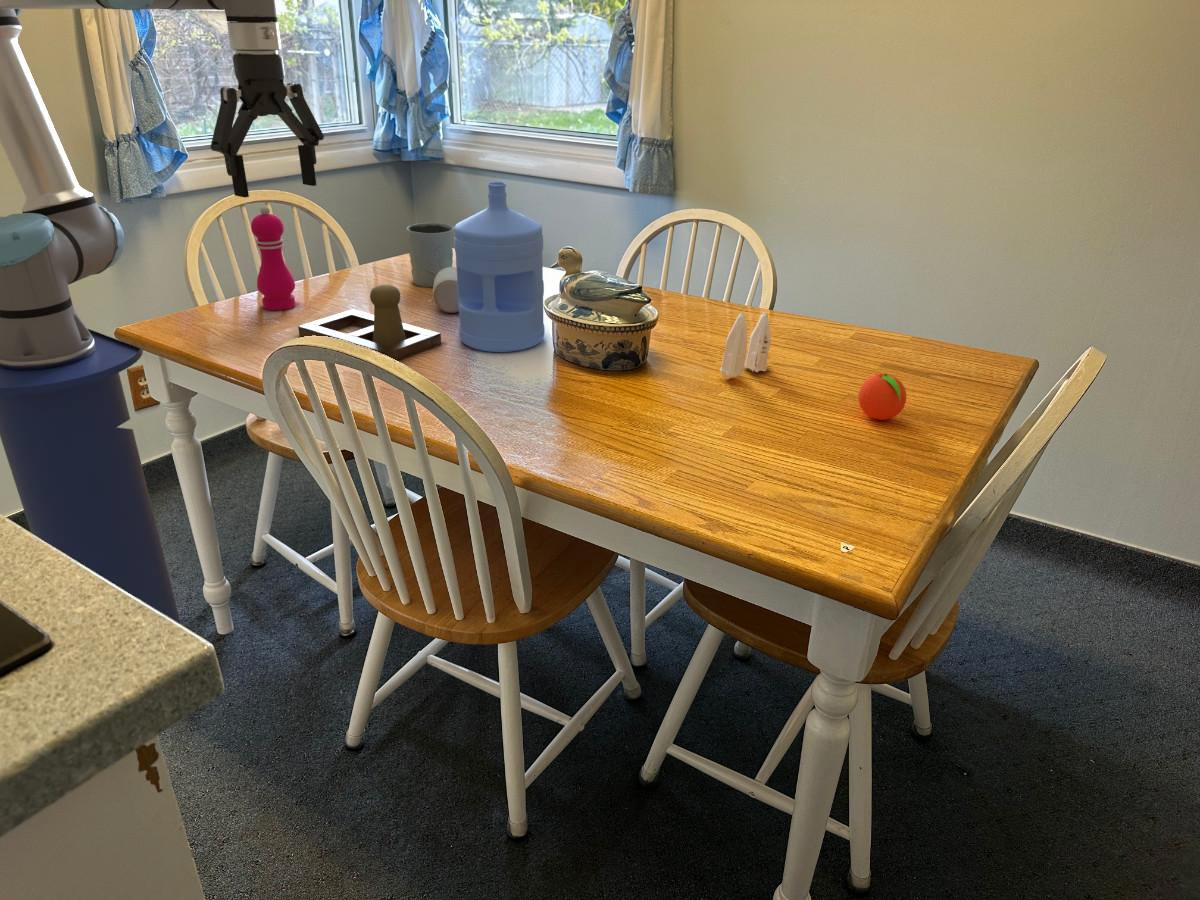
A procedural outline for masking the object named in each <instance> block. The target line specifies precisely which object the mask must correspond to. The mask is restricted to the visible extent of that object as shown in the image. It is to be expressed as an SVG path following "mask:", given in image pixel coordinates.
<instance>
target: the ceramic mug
mask: <svg viewBox="0 0 1200 900" xmlns="http://www.w3.org/2000/svg"><path fill="white" fill-rule="evenodd" d="M432 298H433V301H434V304H435V305H436V306H437V308H438V309H439V310H441V311H442V312H445V313H446V314H456V313H459V304H458V293H457V267H455V266H452V267H447V268H444V269H442V270H441V271H439V272H438V274H437V275H436V277H435V279H434V286H433V287H432Z"/></svg>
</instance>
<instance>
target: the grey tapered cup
mask: <svg viewBox="0 0 1200 900" xmlns="http://www.w3.org/2000/svg"><path fill="white" fill-rule="evenodd" d="M454 228H455V227H453V226H452V225H450V224H448V223H441V222H423V223H421V222H420V223H414V224H410V225H408V226H407V227H406V236H407V242H408V250H409V258H410V259H409V260H410V266H411V276H412V277H411V278H412V282H413V284H414V285H416V286H419V287H426V288H433V286H434V279H435V277H436V275H437V274H438V272H439V271H441V270H442V269H444V268H447V267H453V263H454V261H453V257H454V253H453V251H454V250H453V249H454V235H455V234H454Z"/></svg>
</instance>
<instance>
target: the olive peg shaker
mask: <svg viewBox="0 0 1200 900" xmlns="http://www.w3.org/2000/svg"><path fill="white" fill-rule="evenodd" d="M369 300H370V302H371V303H372V305H373V306H374V307H373V308H374V309H373V315H374V332H373V342H375V343H379V344H382V345H385V346H390V345H393V344H395V343H398V342H401V341H404V340H406V337H405V333H404V329H403V324H402V323H403V320H402V317H401V311H400V307H399V304H400V302H401V292H400V290H399V288H398V287H397V286H395V285H391V284H381V285H376V286H374V287H373V288H371V290H370V294H369Z"/></svg>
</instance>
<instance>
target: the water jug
mask: <svg viewBox="0 0 1200 900" xmlns="http://www.w3.org/2000/svg"><path fill="white" fill-rule="evenodd" d="M487 187H488V193H487V197H488V206H487V207H486V208H485V209H483V210H481V211H478V212H477V213H475V214H472V215H471V216H469V217H467V218H465V219H462V220H461V221H459V222H457V223H456V224H455V226H454V227H453V228H454V234H453V249H454V252H455V266H456V268H457V293H458V304H459V312H458V320H459V321H458V322H459V326H458V334H459V335H458V336H459V339H460V340H461V342H462V343H463V344H464V345H466V346H467V347H469V348H472V349H475V350H478V351H483V352H490V353H491V352H492V353H510V352H519V351H523V350H527V349H530V348H532V347H535V346H537V345H538V344H540V343H541V342H542V340H543V339H544V337H545V331H546V329H545V328H546V327H545V323H544V294H545V284H544V276H543V275H544V274H543V272H544V270H543V268H544V267H543V265H544V263H543V251H544V235H543V226H542V225H541V223H539V222H538V221H537V220H535V219H532V218H530V217H528V216H526V215H523V214H522V213H520V212H517V211H515V210H514V209H512V208H509V206H508V204H507V196H508V195H507V191H506V188H507V183H506V182H502V181H491V182H488V183H487Z"/></svg>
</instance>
